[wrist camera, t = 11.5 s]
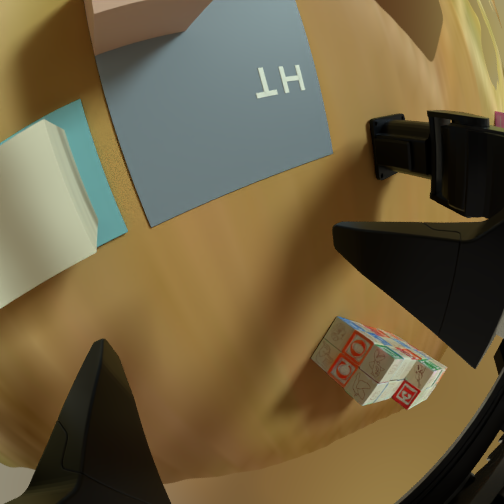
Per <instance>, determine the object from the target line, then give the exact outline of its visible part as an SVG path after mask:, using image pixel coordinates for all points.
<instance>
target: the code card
mask: <svg viewBox="0 0 504 504" xmlns="http://www.w3.org/2000/svg"><path fill="white" fill-rule="evenodd" d="M85 11H86V10H85ZM87 22H88V21H87ZM88 27H89V26H88ZM90 37H91V36H90ZM91 42H92V41H91ZM93 51H94V50H93ZM95 59H96V63H97V68H98V71H99V75H100V79H101V83H102V87H103V90H104V94H105V98H106V101H107V105H108V108H109V111H110V115H111V118H112V121H113V124H114V128H115V131H116V134H117V137H118V140H119V143H120V146H121V149H122V152H123V155H124V158H125V160H126V163H127V166H128V169H129V172H130V174H131V177H132V180H133V182H134V185H135V188H136V190H137V193H138V196H139V198H140V201H141V203H142V206H143V208H144V211H145V213H146V216H147V218H148V221H149V223H150V226H151V227H154V226H156V225H158V224H160V223H162V222H164V221H166V220H168V219H171V218H173V217H175V216H177V215H179V214H182V213H184V212H186V211H188V210H191V209H193V208H195V207H197V206H200V205H202V204H204V203H206V202H209V201H211V200H213V199H216V198H218V197H220V196H223V195H225V194H228V193H230V192H232V191H235V190H237V189H240V188H242V187H245V186H247V185H250V184H252V183H255V182H257V181H260V180H262V179H265V178H267V177H270V176H272V175H275V174H278V173H280V172H283V171H286V170H288V169H291V168H294V167H296V166H299V165H302V164H305V163H307V162H310V161H313V160H316V159H319V158H322V157H324V156H327V155H330V154H333V150H332V144H331V139H330V133H329V128H328V123H327V118H326V113H325V108H324V103H323V99H322V94H321V90H320V86H319V81H318V77H317V73H316V69H315V65H314V62H313V58H312V54H311V50H310V47H309V43H308V40H307V36H306V33H305V30H304V26H303V23H302V20H301V17H300V14H299V11H298V8H297V5H296V2H295V0H213V1H212V2H211V3H210V4H209V5H208V6H207V7H206V8H205V9H204V10H203V11H202V13H201V14H200V15H199V16H198V17H197V18H196V19H195V20H194V22H193V23H192V24H191V25H190V26H189V27H188V29H187V30H186V31H183V32H178V33H173V34H168V35H163V36H159V37H155V38H151V39H147V40H143V41H139V42H136V43H132V44H129V45H125V46H122V47H119V48H116V49H113V50H110V51H107V52H104V53H101V54H99V55H96V56H95Z"/></svg>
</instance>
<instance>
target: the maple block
mask: <svg viewBox="0 0 504 504" xmlns="http://www.w3.org/2000/svg"><path fill="white" fill-rule="evenodd" d="M97 231H98V218H97V215H96V213H95V211H94V209H93V206H92V204H91V201H90V199H89V197H88V194H87V192H86V189H85V187H84V184H83V182H82V179H81V177H80V174H79V171H78V169H77V166H76V163H75V160H74V157H73V155H72V152H71V149H70V146H69V143H68V140H67V137H66V133H65V130H64V129H62V128H60V127H58V126H56V125H54V124H52V123H51V122H49V121H47V120H45V119H43V120H41V121H39V122H37V123H35V124H34V125H32V126H30V127H29V128H27V129H25V130H24V131H22V132H20V133H19V134H17V135H16V136H14V137H12V138H11V139H9V140H8V141H6V142H5V143H3V144H2V145H0V309H1V308H2V307H4V306H5V305H7V304H8V303H10V302H12V301H13V300H15V299H16V298H18V297H19V296H21V295H23V294H24V293H26V292H28V291H29V290H31V289H32V288H34V287H36V286H37V285H39V284H41V283H43V282H44V281H46V280H48V279H49V278H51V277H53V276H54V275H56V274H58V273H60V272H61V271H63V270H65V269H67V268H69V267H70V266H72V265H74V264H76V263H78V262H79V261H81V260H83V259H85V258H87V257H89V256H90V255H92V254H94V253H96V252H97Z"/></svg>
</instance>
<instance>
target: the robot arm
mask: <svg viewBox="0 0 504 504" xmlns="http://www.w3.org/2000/svg"><path fill="white" fill-rule="evenodd" d="M427 116H428V117H429V122H419V121H408V120H405V117H404V115H403V114H394V115H388V116H383V117H378V118H373V119H371V120H370V128H371V135H372V142H373V150H374V159H375V168H376V177H377V179H378V180H384V179H386V178H388V177H390V176H392V175H394V174H396V173H398V172H399V173H404V174H409V175H413V176H418V177H422V178H426V179H430V180H431V192H430V199H432V200H434V201H436V202H437V203H439V204H441V205H443V206H445V207H447V208H449V209H451V210H453V211H454V212H456V213H458V214H460V215H462V216H464V217H467V218H471V217H485V218H488V220H486V221H482V222H459V223H429V222H424V223H422V222H340V223H338V224H336V225H334V226H333V228H332V232H333V242H334V247H335V249H336V250H337V251H338V252H339V253H340V254H341V255H342V256H343V257H344V258H345V259H346V260H347V261H348V262H349V263H351V264H352V265H353V266H354V267H355V268H356V269H357V270H358V271H359V272H360V273H361V274H362V275H364V276H365V277H366V278H367V279H369V280H370V281H371V282H372V283H374V284H375V285H376V286H378V287H379V288H380V289H381V290H383V291H384V292H385V293H386V294H388V295H389V296H390V297H391V298H393V299H394V300H395V301H396V302H397V303H399V304H400V305H401V306H402V307H404V308H405V309H406V310H407V311H408V312H410V313H411V314H412V315H413V316H414V317H416V318H417V319H418V320H419V321H420V322H422V323H423V324H424V325H425V326H426V327H427V328H429V329H430V330H431V331H432V332H433V333H434V334H436V335H437V336H438V337H439V338H440V339H441V340H442V341H443V342H445V343H446V344H447V345H448V346H449V347H450V348H451V349H453V350H454V351H455V352H456V353H457V354H458V355H459V356H461V357H462V358H463V359H464V360H465V361H466V362H467V363H468V364H469V365H470V366H471V367H473V368H474V369H476V367H477V366H478V364H479V362H480V361H481V359H482V358H483V356H484V355H485V353H486V351H487V349H488V348H489V346H490V345H491V343H492V341H493V339H494V337H495V336H496V334H497V335H499V336H500V337H502V338H503V340H502V342H501V344H500V346H499V348H498V350H497V351H496V353H495V355H494V360H495V363H496V367H497V371H498V375H499V376H498V378H497V380H496V382H495V383H494V385H493V387H492V388H491V390H490V392H489V393H488V395H487V397H486V398H485V400H484V402H483V403H482V404H481V406H480V408H479V409H478V411H477V412H476V414H475V415H474V417H473V418H472V419H471V421H470V422H469V423H468V425H467V426H466V427H465V429H464V430H463V432H462V433H461V434H460V436H459V437H458V438H457V439H456V440H455V442H454V443H453V444H452V445H451V447H450V448H449V449H448V450H447V451H446V453H445V454H444V455H443V456H442V457H441V458H440V459H439V461H438V462H437V463H436V464H435V465H434V466H433V467H432V468H431V469H430V470H429V472H427V473H426V475H425V476H424V477H423V478H422V479H421V480H420V481H419V482H417V484H415V485H414V486H413V487H412V488H411V489H410V490H409V491H408V492H407V493H406V494H405V495H404V496H403V497H401V498H400V499H399V500H398V501H397V502H396V503H395V504H504V434H503V435H502V436H501V438H500V439H499V442H500V443H501V444H500V445H499V446H498V447H497V448H496V449H495V450H494V451H493V452H492V453H491V454H490V455H489V456H488V458H487V460H488V461H489V462H488V463H487V464H486V465H485V466H484V467H483V468H481V469H480V470H479V471H478V472H477V473H476V474H475V475H474V474H473V473H471V471H472V470H473V468H474V467H475V465H476V464H477V463H478V462H479V460H480V459H481V457H482V456H483V455H484V453H485V452H486V450H487V449H488V447H489V446H490V444H491V443H492V441H493V440H494V438H495V437H496V435H497V433H498V432H499V430H502V431H503V432H504V128H501V127H496V126H491V125H489V118H486V117H482V116H478V115H473V114H469V113H464V112H456V111H446V110H434V111H427ZM450 120H452V123H450ZM5 504H171V502H170V500H169V498H168V495H167V493H166V491H165V489H164V486H163V484H162V481H161V479H160V476H159V474H158V471H157V468H156V466H155V463H154V460H153V458H152V455H151V452H150V449H149V446H148V443H147V440H146V437H145V434H144V431H143V428H142V424H141V421H140V418H139V414H138V411H137V407H136V403H135V400H134V397H133V394H132V391H131V389H130V386H129V383H128V381H127V378H126V375H125V372H124V369H123V367H122V364H121V361H120V359H119V357H118V355H117V354H116V352H115V351H114V350H113V348H112V347H111V346H110V344H109V343H108V342H107V340H106V339H100V340H98V341H96V342H94V343H93V345H92V347H91V349H90V351H89V353H88V355H87V357H86V359H85V361H84V363H83V365H82V367H81V369H80V371H79V373H78V375H77V377H76V379H75V381H74V383H73V385H72V388H71V390H70V392H69V394H68V396H67V399H66V401H65V403H64V405H63V408H62V410H61V412H60V415H59V417H58V421H57V422H56V424H55V427H54V429H53V432H52V434H51V436H50V439H49V441H48V444H47V446H46V448H45V450H44V452H43V455H42V457H41V459H40V461H39V463H38V466H37V468H36V470H35V473H34V475H33V477H32V480H31V482H30V484H29V486H28V488H27V489H26V491H25V492H24V493H23V494H22V495H21V496H19V497H18V498H16V499H13V500H11V501H9V502H7V503H5Z"/></svg>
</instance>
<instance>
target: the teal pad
mask: <svg viewBox="0 0 504 504" xmlns="http://www.w3.org/2000/svg"><path fill="white" fill-rule="evenodd" d="M43 119H45V120H47V121H49V122H51V123H52V124H54V125H56V126H58V127H60V128H62V129H64V130H65V133H66V137H67V140H68V143H69V146H70V149H71V152H72V155H73V157H74V160H75V163H76V166H77V169H78V171H79V174H80V177H81V179H82V182H83V184H84V187H85V189H86V192H87V194H88V197H89V199H90V201H91V204H92V206H93V209H94V211H95V213H96V215H97V218H98V231H97V247H99V246H101V245H102V244H104V243H106V242H108V241H110V240H112V239H114V238H116V237H118V236H120V235H122V234H124V233H126V232H128V230H127V228H126V225H125V223H124V221H123V218H122V216H121V214H120V211H119V209H118V207H117V204H116V202H115V199H114V197H113V194H112V192H111V189H110V187H109V184H108V182H107V179H106V176H105V174H104V171H103V168H102V165H101V163H100V160H99V157H98V154H97V151H96V148H95V145H94V142H93V139H92V136H91V133H90V130H89V127H88V124H87V120H86V117H85V114H84V110H83V107H82V103H81V99H78V100H76V101H74V102H72V103H70V104H68V105H65V106H63V107H61V108H59V109H57V110H55V111H53V112H52V113H50V114H48V115H46V116H44V117H42V118H40V119H39V120H37V121H35V122H33V123H32V124H30V125H28V126H26V127H25V128H23V129H21V130H20V131H18V132H17V133H15V134H13V135H12V136H10V137H9V138H7V139H6V140H4V141H3V142H1V143H0V145H2V144H3V143H5V142H6V141H8V140H9V139H11V138H12V137H14V136H16V135H17V134H19V133H20V132H22V131H24V130H25V129H27V128H29V127H30V126H32V125H34V124H35V123H37V122H39V121H41V120H43Z"/></svg>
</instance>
